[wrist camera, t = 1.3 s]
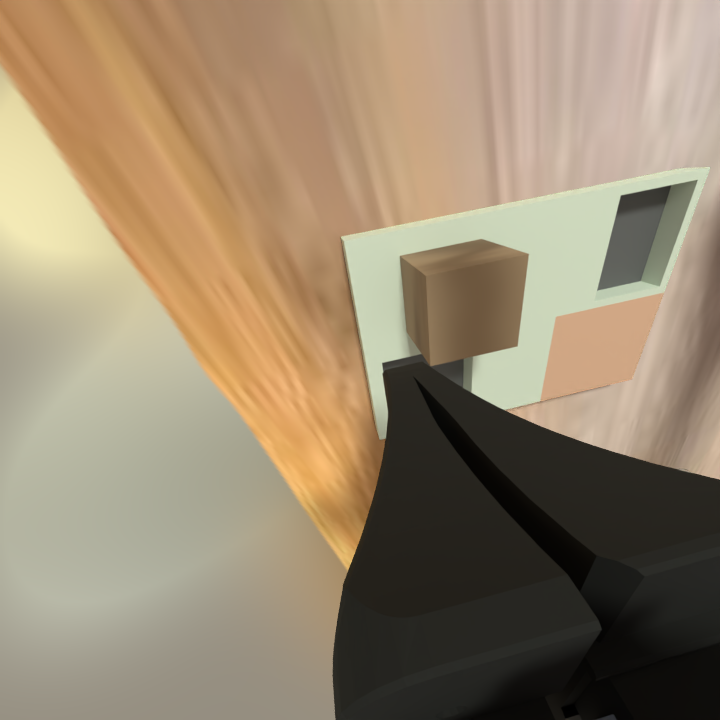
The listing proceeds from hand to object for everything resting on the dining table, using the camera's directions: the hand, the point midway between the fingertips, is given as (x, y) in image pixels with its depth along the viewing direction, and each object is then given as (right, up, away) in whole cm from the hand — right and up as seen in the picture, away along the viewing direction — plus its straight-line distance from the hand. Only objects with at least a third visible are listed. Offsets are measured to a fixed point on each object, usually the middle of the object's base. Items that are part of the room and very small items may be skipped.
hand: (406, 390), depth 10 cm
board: (+8, +4, +11) cm, 14 cm away
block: (+3, +5, +7) cm, 9 cm away
